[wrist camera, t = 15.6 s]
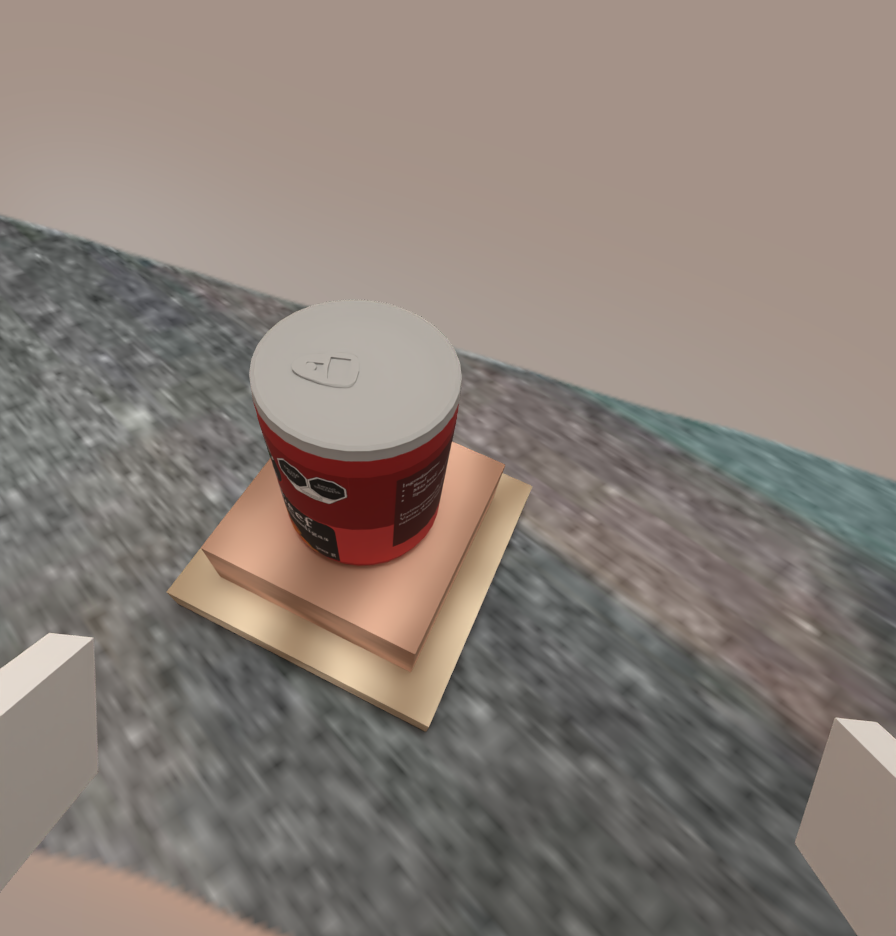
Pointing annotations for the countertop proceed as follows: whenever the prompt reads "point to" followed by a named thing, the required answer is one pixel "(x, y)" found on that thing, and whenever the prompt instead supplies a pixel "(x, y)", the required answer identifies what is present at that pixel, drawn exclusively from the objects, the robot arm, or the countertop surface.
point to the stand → (360, 588)
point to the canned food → (358, 424)
